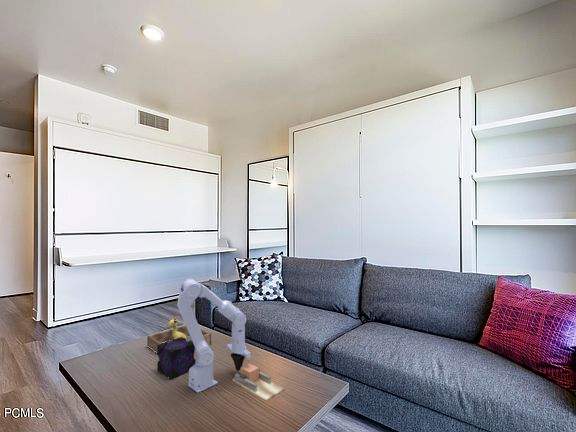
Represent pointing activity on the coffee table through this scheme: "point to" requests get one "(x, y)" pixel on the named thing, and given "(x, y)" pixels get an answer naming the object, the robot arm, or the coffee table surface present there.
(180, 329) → the display tray
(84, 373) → the coffee table surface
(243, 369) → the block
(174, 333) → the stuffed giraffe
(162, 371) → the energy cube
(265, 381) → the chute
